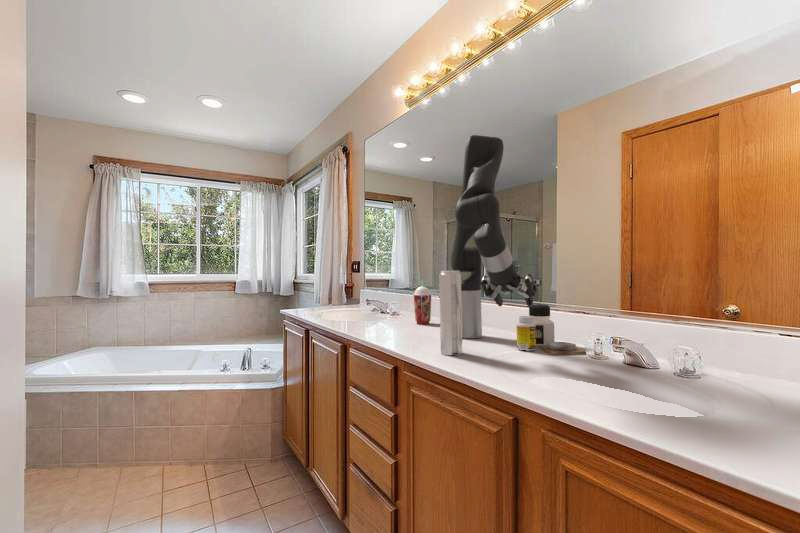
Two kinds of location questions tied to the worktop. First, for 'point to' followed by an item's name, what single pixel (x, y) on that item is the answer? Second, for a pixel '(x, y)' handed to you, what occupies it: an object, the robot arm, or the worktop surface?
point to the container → (542, 323)
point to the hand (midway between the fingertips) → (515, 304)
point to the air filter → (450, 312)
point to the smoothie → (422, 304)
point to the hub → (561, 348)
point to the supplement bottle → (526, 333)
